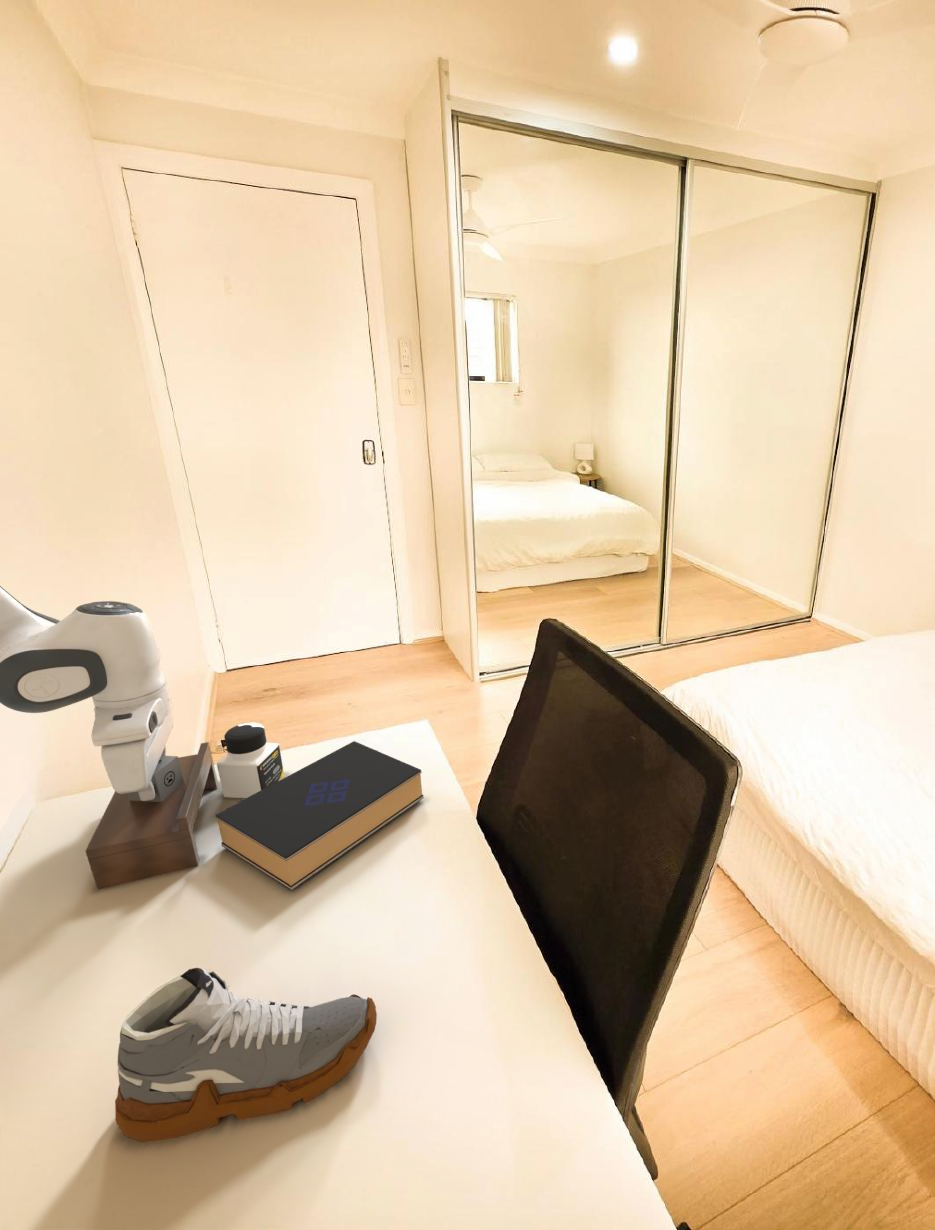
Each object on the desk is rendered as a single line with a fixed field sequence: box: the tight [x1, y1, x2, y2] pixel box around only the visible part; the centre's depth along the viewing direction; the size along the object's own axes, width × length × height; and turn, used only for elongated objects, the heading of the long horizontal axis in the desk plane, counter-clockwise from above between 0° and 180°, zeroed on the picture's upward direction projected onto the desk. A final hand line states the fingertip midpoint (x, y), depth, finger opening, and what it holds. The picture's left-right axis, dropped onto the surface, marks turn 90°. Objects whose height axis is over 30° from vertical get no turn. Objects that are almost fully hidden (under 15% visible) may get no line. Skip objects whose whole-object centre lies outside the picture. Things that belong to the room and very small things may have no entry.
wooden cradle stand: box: [84, 741, 219, 891], centre depth 96 cm, size 12×22×9 cm, turn 25°
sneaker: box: [114, 967, 378, 1143], centre depth 61 cm, size 9×24×15 cm, turn 107°
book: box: [214, 740, 425, 891], centre depth 99 cm, size 17×25×7 cm
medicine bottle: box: [216, 722, 285, 799], centre depth 107 cm, size 7×7×12 cm
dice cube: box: [128, 755, 184, 802], centre depth 95 cm, size 5×5×5 cm
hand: (155, 783), depth 95 cm, fingers open, 6 cm apart
